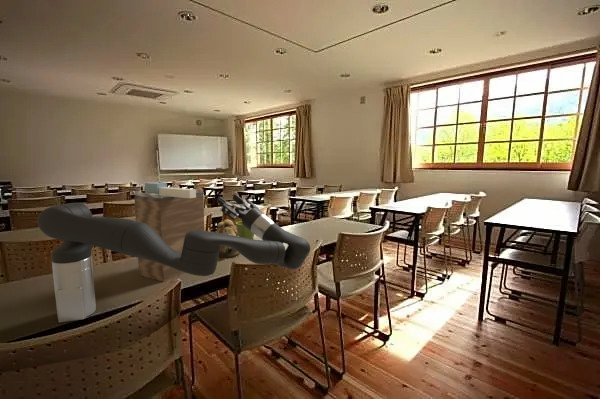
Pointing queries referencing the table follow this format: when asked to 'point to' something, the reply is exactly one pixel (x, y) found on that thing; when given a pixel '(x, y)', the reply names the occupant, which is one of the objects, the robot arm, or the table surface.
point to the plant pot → (244, 231)
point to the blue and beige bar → (169, 190)
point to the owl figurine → (229, 229)
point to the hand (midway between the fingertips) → (226, 197)
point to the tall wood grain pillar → (168, 226)
